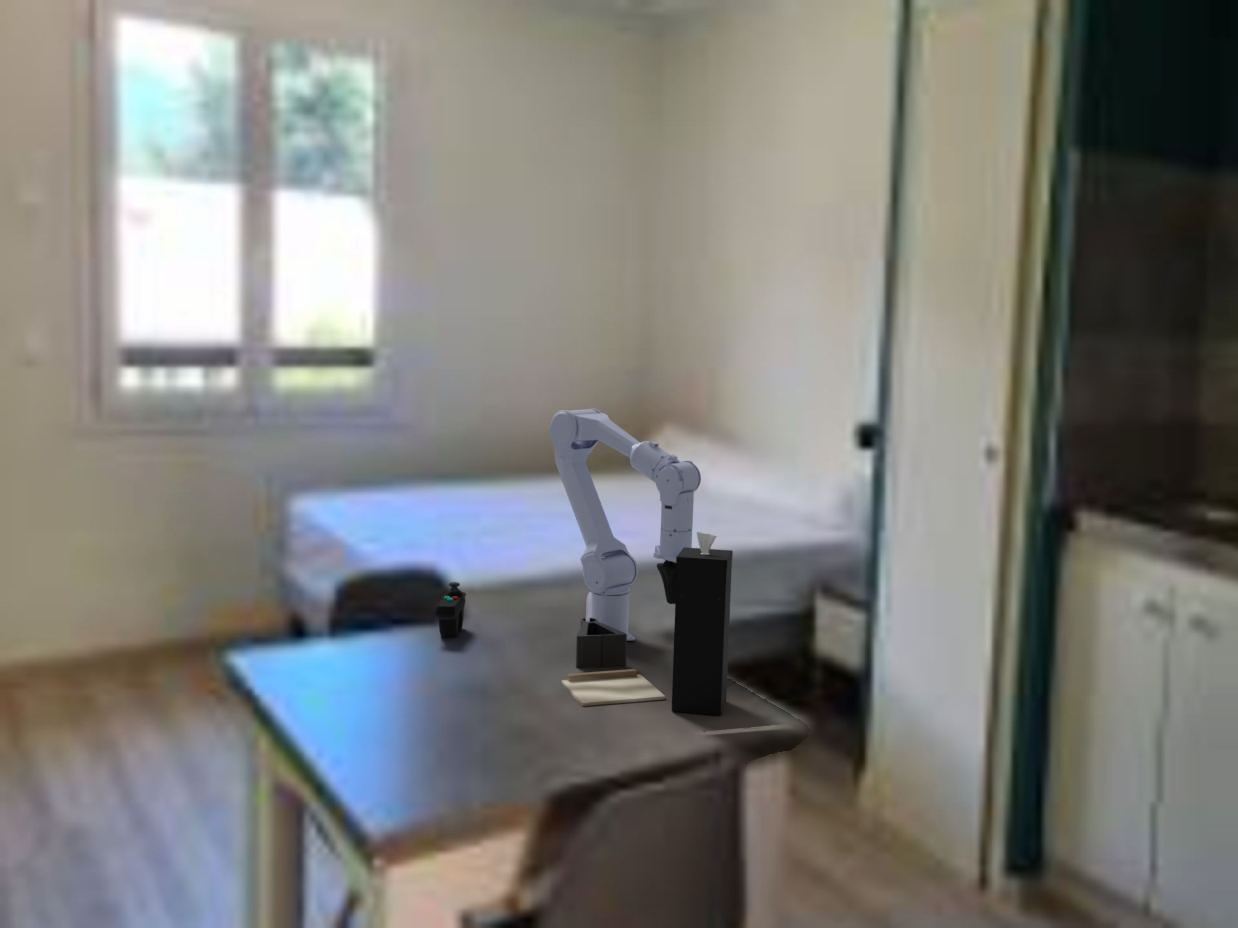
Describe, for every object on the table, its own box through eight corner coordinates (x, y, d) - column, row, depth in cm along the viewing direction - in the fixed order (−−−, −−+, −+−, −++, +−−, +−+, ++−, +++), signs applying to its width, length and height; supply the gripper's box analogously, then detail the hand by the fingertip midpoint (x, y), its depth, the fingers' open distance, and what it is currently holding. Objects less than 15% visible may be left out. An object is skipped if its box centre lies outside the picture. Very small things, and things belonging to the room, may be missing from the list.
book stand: (561, 682, 196) (561, 674, 196) (640, 677, 201) (640, 668, 201) (582, 706, 185) (582, 696, 185) (665, 699, 190) (665, 690, 189)
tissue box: (721, 716, 182) (728, 538, 178) (670, 712, 184) (676, 535, 180) (726, 700, 190) (733, 530, 186) (678, 696, 191) (684, 526, 188)
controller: (467, 631, 227) (468, 580, 226) (455, 649, 215) (456, 595, 213) (445, 630, 227) (445, 579, 226) (432, 648, 215) (432, 594, 213)
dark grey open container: (626, 667, 206) (610, 648, 218) (627, 633, 205) (610, 616, 217) (576, 669, 204) (562, 650, 216) (576, 636, 203) (563, 618, 215)
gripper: (640, 522, 216) (638, 594, 218) (671, 537, 203) (668, 614, 205) (675, 521, 219) (673, 592, 221) (709, 535, 206) (705, 611, 207)
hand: (673, 602), depth 213 cm, fingers closed
